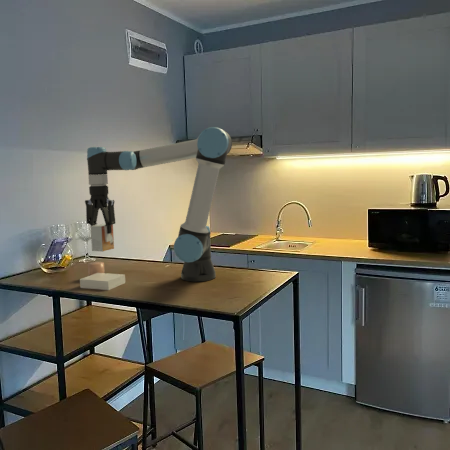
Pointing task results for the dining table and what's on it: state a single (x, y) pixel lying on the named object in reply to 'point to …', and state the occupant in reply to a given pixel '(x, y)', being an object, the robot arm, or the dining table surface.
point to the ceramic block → (102, 281)
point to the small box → (101, 238)
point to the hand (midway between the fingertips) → (102, 240)
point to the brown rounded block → (95, 268)
